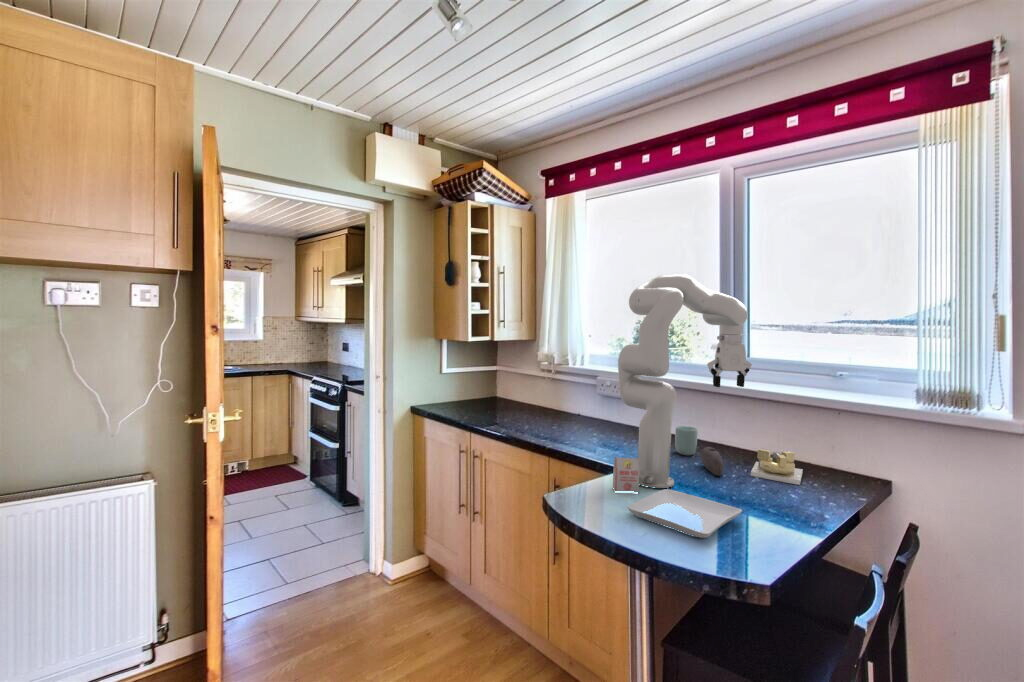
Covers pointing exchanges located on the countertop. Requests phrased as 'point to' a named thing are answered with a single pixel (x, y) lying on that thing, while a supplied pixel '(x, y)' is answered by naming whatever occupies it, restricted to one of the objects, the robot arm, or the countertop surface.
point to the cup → (686, 440)
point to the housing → (777, 474)
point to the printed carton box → (626, 474)
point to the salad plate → (706, 509)
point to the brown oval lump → (712, 460)
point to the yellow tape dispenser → (777, 461)
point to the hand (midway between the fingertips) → (728, 386)
